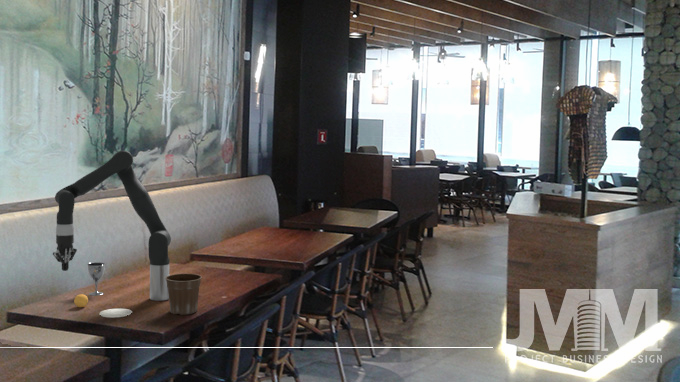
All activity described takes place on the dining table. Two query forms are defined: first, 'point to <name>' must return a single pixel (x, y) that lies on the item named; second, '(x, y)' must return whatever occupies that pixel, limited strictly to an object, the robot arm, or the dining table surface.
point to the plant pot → (183, 293)
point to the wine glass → (96, 275)
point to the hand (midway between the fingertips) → (65, 270)
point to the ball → (81, 300)
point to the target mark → (115, 313)
